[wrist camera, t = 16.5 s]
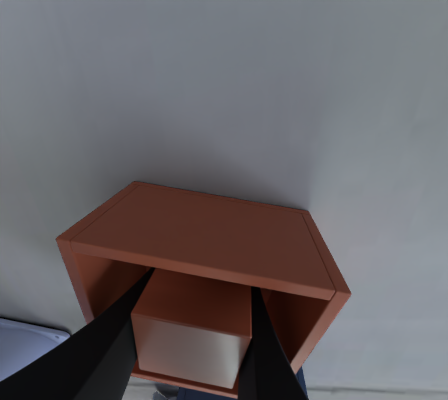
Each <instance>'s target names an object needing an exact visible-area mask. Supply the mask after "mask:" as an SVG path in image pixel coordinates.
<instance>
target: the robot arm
mask: <svg viewBox="0 0 448 400" xmlns="http://www.w3.org/2000/svg"><path fill="white" fill-rule="evenodd" d="M154 270H155V267H151V268H150V269H149V270H148V271H147V272H146V273H145V274H144V275H143V276H142V277H141V278H140V279H139V280H138V281H137V282H136V283H135V284H134V285H133V286H132V287H131V288H130V289H129V290H128V291H127V292H125V293H124V294H123V295H122V296H121V297H120V298H119V299H118V300H116V301H115V302H114V303H113V304H112V305H111V306H110V307H108V308H107V309H106V310H105V311H104V312H102V313H101V314H100V315H99V316H97V317H96V318H95V319H94V320H92V321H91V322H90V323H88V324H87V325H86V326H84V327H83V328H82V329H80V330H79V331H78V332H76V333H75V334H73V335H72V336H71V337H70V335H69V334H68V333H67V332H64V331H60V330H55V329H50V328H45V327H40V326H36V325H31V324H26V323H21V322H16V321H11V320H7V319H2V318H0V400H122V397H123V394H124V391H125V389H126V386H127V383H128V381H129V378H130V376H131V373H132V370H133V368H134V365H135V362H136V360H137V358H138V356H137V350H136V344H135V338H134V332H133V326H132V320H131V312H132V310H133V309H134V307H135V305H136V303H137V301H138V299H139V298H140V296H141V294H142V292H143V290H144V288H145V287H146V285H147V283H148V281H149V279H150V278H151V276H152V274H153V272H154ZM251 326H252V338H251V340H250V343H249V346H248V348H247V351H246V354H245V356H244V359H243V362H242V364H241V367H240V370H239V380H238V397H237V400H309V399H308V397H307V395H306V394H305V392H304V390H303V388H302V387H301V385H300V383H299V381H298V379H297V377H296V375H295V373H294V371H293V369H292V367H291V365H290V363H289V361H288V359H287V357H286V355H285V353H284V351H283V349H282V346H281V344H280V342H279V339H278V337H277V335H276V332H275V330H274V327H273V325H272V322H271V320H270V317H269V314H268V312H267V309H266V306H265V303H264V300H263V296H262V293H261V289H260V287H255V286H251Z"/></svg>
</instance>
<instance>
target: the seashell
mask: <svg viewBox="0 0 448 400" xmlns="http://www.w3.org/2000/svg"><path fill="white" fill-rule="evenodd" d="M153 400H168V399H166V398H165V397H164V396H163V395H161V394H160V393H158V391H156V392H155V393H153Z"/></svg>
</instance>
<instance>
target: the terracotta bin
mask: <svg viewBox="0 0 448 400" xmlns="http://www.w3.org/2000/svg"><path fill="white" fill-rule="evenodd" d="M56 241H57V244H58V247H59V250H60V252H61V255H62V258H63V261H64V263H65V266H66V269H67V271H68V274H69V277H70V280H71V282H72V285H73V288H74V291H75V293H76V296H77V299H78V301H79V304H80V307H81V310H82V312H83V315H84V318H85V321H86V323H87V324H88V323H90V322H91V321H92V320H94V319H95V318H96V317H97V316H99V315H100V314H101V313H102V312H104V311H105V310H106V309H107V308H108V307H110V306H111V305H112V304H113V303H114V302H115V301H116V300H118V299H119V298H120V297H121V296H122V295H123V294H124V293H125V292H127V291H128V290H129V289H130V288H131V287H132V286H133V285H134V284H135V283H136V282H137V281H138V280H139V279H140V278H141V277H142V276H143V275H144V274H145V273H146V272H147V271H148V270H149V269H150V268H151V267H155V268H161V269H166V270H171V271H176V272H182V273H187V274H192V275H197V276H203V277H208V278H213V279H218V280H224V281H229V282H234V283H240V284H245V285H250V286H255V287H260V289H261V293H262V296H263V300H264V303H265V306H266V309H267V312H268V314H269V317H270V320H271V322H272V325H273V327H274V330H275V332H276V335H277V337H278V339H279V342H280V344H281V346H282V349H283V351H284V353H285V355H286V357H287V359H288V361H289V363H290V365H291V367H292V369H293V371H294V373H295V374H296V373H297V371H298V370H299V369H300V367H301V366H302V364H303V363H304V361H305V360H306V359H307V357H308V356H309V354H310V353H311V352H312V350H313V349H314V347H315V346H316V344H317V343H318V342H319V340H320V339H321V337H322V336H323V334H324V333H325V332H326V330H327V329H328V327H329V326H330V324H331V323H332V322H333V320H334V319H335V317H336V316H337V315H338V313H339V312H340V310H341V309H342V307H343V306H344V305H345V303H346V302H347V300H348V299H349V297H350V296H351V291H350V290H349V288H348V286H347V284H346V282H345V280H344V278H343V276H342V274H341V272H340V270H339V268H338V267H337V265H336V263H335V261H334V259H333V257H332V255H331V253H330V251H329V249H328V247H327V245H326V244H325V242H324V240H323V238H322V236H321V234H320V232H319V230H318V228H317V226H316V224H315V222H314V220H313V219H312V217H311V215H310V213H309V211H304V210H299V209H293V208H287V207H281V206H275V205H270V204H264V203H258V202H252V201H247V200H241V199H235V198H229V197H223V196H218V195H212V194H206V193H200V192H194V191H189V190H183V189H177V188H171V187H166V186H160V185H154V184H148V183H142V182H137V181H134V182H132V183H131V184H130V185H128V186H127V187H125V188H124V189H123V190H121V191H120V192H119V193H117V194H116V195H114V196H113V197H112V198H110V199H109V200H108V201H106V202H105V203H103V204H102V205H101V206H99V207H98V208H97V209H95V210H94V211H92V212H91V213H90V214H88V215H87V216H86V217H84V218H83V219H81V220H80V221H79V222H77V223H76V224H75V225H73V226H72V227H70V228H69V229H68V230H66V231H65V232H64V233H62V234H61V235H59V236H58V237H57V238H56ZM131 376H133V377H137V378H142V379H147V380H151V381H156V382H161V383H165V384H170V385H175V386H180V387H184V388H189V389H194V390H198V391H203V392H208V393H212V394H217V395H222V396H226V397H231V398H236V399H237V397H238V380H239V372H238V375H237V378H236V380H235V383H234V385H233V388H232V389H230V388H226V387H221V386H216V385H211V384H207V383H202V382H197V381H193V380H188V379H183V378H178V377H174V376H169V375H164V374H159V373H155V372H150V371H145V370H141V369H140V368H139V362H138V358H137V360H136V362H135V365H134V368H133V370H132V373H131Z"/></svg>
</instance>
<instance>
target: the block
mask: <svg viewBox="0 0 448 400" xmlns="http://www.w3.org/2000/svg"><path fill="white" fill-rule="evenodd" d="M131 320H132V326H133V332H134V338H135V344H136V350H137V356H138V362H139V368H140V369H141V370H145V371H150V372H155V373H159V374H164V375H169V376H174V377H178V378H183V379H188V380H193V381H197V382H202V383H207V384H211V385H216V386H221V387H226V388H230V389H232V388H233V385H234V383H235V380H236V378H237V375H238V372H239V370H240V367H241V364H242V362H243V359H244V356H245V354H246V351H247V348H248V346H249V343H250V340H251V338H252V326H251V286H250V285H245V284H240V283H234V282H229V281H224V280H218V279H213V278H208V277H203V276H197V275H192V274H187V273H182V272H176V271H171V270H166V269H161V268H155V270H154V272H153V274H152V276H151V278H150V279H149V281H148V283H147V285H146V287H145V288H144V290H143V292H142V294H141V296H140V298H139V299H138V301H137V303H136V305H135V307H134V309H133V310H132V312H131Z"/></svg>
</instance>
